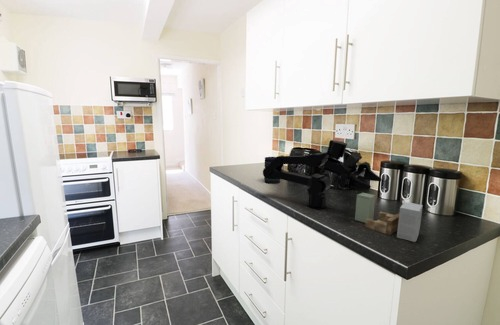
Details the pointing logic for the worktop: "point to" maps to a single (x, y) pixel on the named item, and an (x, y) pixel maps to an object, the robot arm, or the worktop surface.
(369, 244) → the worktop surface
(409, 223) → the small box
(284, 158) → the robot arm
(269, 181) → the storage jar
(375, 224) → the wooden stepped block
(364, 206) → the green rectangular block
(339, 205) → the worktop surface
